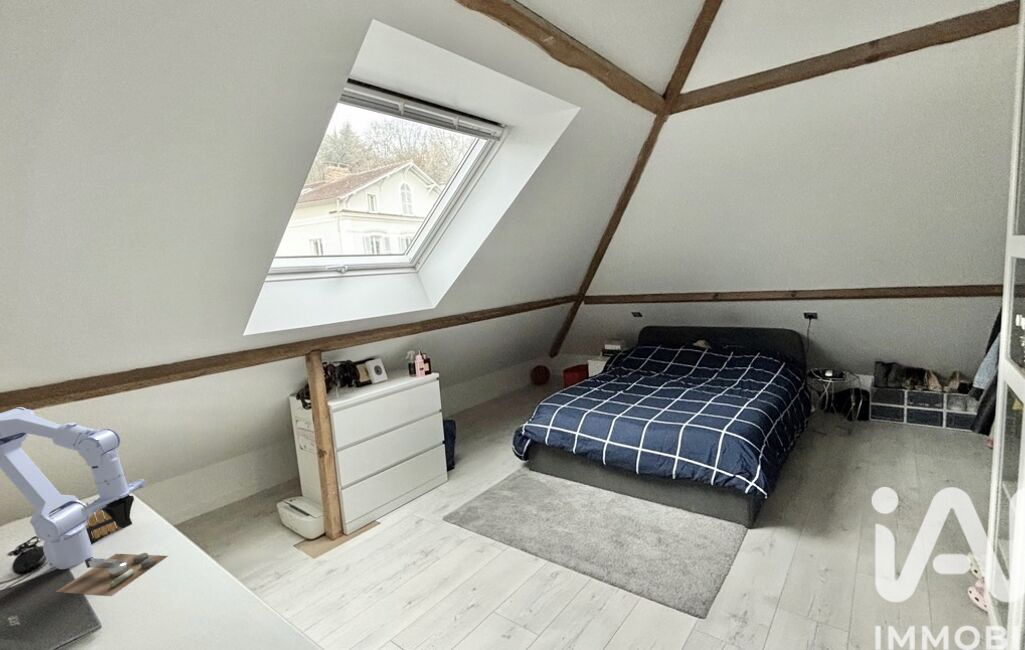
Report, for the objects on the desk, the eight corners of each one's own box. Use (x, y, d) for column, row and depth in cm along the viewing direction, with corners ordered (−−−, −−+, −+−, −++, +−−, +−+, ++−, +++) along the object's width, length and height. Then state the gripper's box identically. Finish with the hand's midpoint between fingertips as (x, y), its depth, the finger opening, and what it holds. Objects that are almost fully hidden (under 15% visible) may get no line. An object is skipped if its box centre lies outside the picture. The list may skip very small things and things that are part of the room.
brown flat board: (56, 596, 115) (53, 586, 114) (117, 557, 128) (114, 548, 127) (112, 600, 110) (109, 590, 109) (169, 560, 123) (166, 550, 123)
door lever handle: (82, 576, 119) (78, 563, 118) (98, 566, 122) (94, 554, 122) (117, 578, 116) (113, 565, 115) (132, 568, 119) (128, 555, 119)
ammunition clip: (87, 547, 136) (74, 508, 134) (86, 544, 137) (73, 506, 135) (133, 527, 144) (122, 490, 142) (132, 525, 145) (121, 488, 143)
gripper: (90, 492, 115) (106, 544, 117) (148, 463, 128) (162, 510, 131) (69, 492, 116) (85, 543, 119) (129, 464, 130) (142, 510, 132)
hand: (124, 526), depth 125 cm, fingers closed
